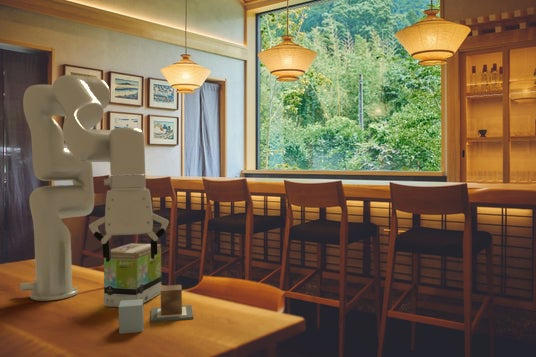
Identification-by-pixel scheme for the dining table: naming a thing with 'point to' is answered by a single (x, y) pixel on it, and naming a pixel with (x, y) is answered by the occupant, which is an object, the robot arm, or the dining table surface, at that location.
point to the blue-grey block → (131, 316)
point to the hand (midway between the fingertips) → (130, 259)
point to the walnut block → (171, 300)
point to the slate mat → (185, 314)
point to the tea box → (132, 274)
